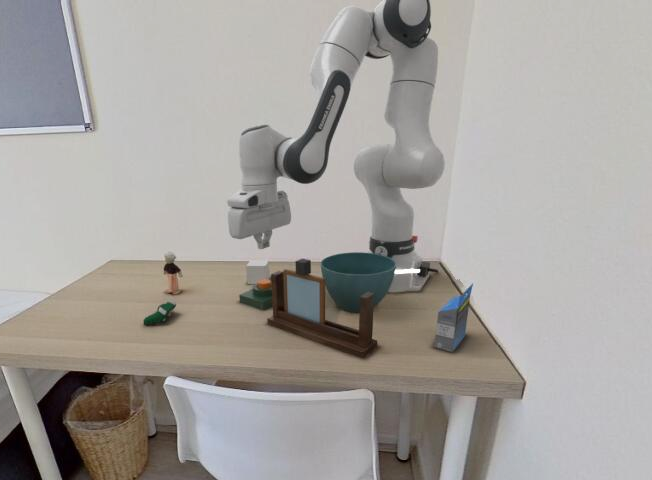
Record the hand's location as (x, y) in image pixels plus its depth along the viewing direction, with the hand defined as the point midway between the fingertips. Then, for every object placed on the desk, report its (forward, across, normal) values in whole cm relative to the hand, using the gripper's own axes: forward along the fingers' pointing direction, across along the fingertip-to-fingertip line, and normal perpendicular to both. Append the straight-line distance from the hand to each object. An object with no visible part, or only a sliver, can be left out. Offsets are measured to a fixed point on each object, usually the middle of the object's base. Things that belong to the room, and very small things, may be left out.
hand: (263, 247), depth 104 cm
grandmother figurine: (+15, +12, -26) cm, 33 cm away
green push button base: (+15, 0, 0) cm, 15 cm away
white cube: (+15, -10, -12) cm, 22 cm away
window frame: (+15, +8, +24) cm, 29 cm away
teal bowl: (+15, -10, +23) cm, 29 cm away
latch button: (+11, 0, 0) cm, 11 cm away
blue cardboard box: (+15, -6, +48) cm, 50 cm away
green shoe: (+15, +25, -14) cm, 32 cm away
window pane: (+13, +8, +20) cm, 25 cm away
